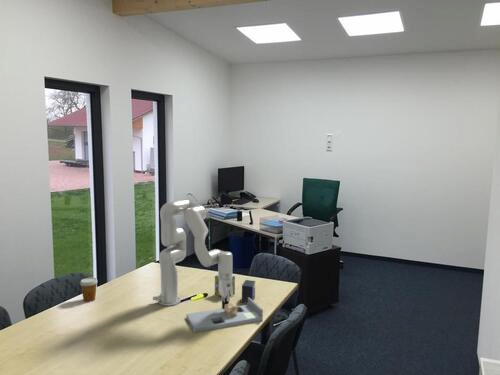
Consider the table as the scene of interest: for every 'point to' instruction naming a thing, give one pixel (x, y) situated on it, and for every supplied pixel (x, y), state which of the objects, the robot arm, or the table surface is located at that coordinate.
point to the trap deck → (225, 317)
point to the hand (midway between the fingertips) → (225, 308)
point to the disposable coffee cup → (89, 289)
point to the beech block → (230, 310)
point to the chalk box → (218, 285)
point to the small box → (248, 291)
